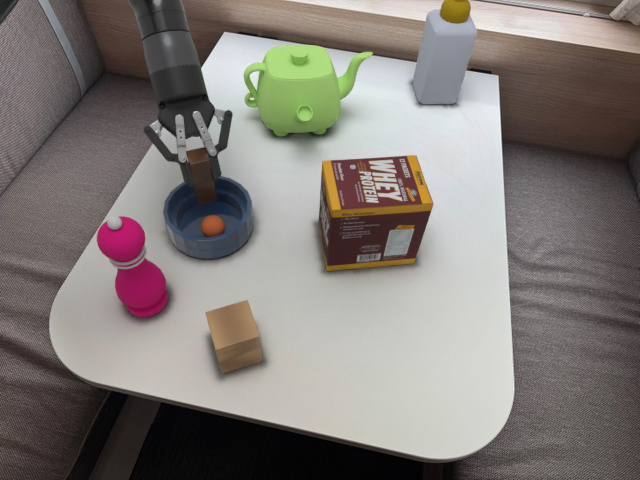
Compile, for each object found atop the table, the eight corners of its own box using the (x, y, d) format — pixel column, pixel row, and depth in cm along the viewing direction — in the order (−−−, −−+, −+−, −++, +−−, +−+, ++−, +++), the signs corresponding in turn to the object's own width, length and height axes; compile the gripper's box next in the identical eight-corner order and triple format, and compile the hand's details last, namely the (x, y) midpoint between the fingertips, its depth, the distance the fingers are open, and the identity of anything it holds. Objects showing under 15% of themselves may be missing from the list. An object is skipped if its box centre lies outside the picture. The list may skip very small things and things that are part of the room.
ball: (205, 246, 87) (201, 227, 84) (201, 232, 90) (196, 214, 87) (229, 240, 88) (225, 221, 85) (223, 226, 91) (220, 208, 88)
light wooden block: (222, 374, 74) (215, 349, 68) (212, 338, 78) (205, 311, 71) (262, 361, 76) (259, 336, 70) (250, 326, 79) (247, 299, 73)
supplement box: (316, 223, 92) (321, 159, 80) (401, 217, 94) (417, 153, 82) (325, 272, 86) (330, 210, 74) (415, 264, 88) (435, 202, 75)
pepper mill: (114, 297, 81) (72, 215, 65) (155, 273, 84) (124, 188, 69) (138, 329, 78) (99, 250, 62) (180, 302, 81) (153, 221, 65)
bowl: (178, 270, 85) (172, 250, 81) (162, 207, 93) (156, 186, 89) (263, 247, 89) (262, 227, 84) (240, 188, 97) (238, 167, 92)
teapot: (249, 166, 100) (243, 98, 88) (244, 96, 113) (239, 28, 101) (376, 158, 103) (387, 92, 90) (357, 91, 116) (365, 25, 103)
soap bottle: (457, 105, 115) (492, -7, 95) (417, 105, 114) (444, -8, 94) (448, 80, 120) (480, -31, 100) (410, 81, 119) (434, -31, 99)
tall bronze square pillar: (198, 204, 83) (190, 164, 76) (194, 191, 85) (185, 150, 78) (216, 200, 84) (210, 159, 77) (212, 187, 86) (205, 146, 79)
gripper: (123, 72, 71) (157, 195, 74) (224, 55, 75) (253, 173, 78) (127, 82, 78) (158, 194, 81) (219, 66, 82) (245, 174, 85)
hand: (204, 183), depth 79 cm, fingers closed on tall bronze square pillar, 3 cm apart
